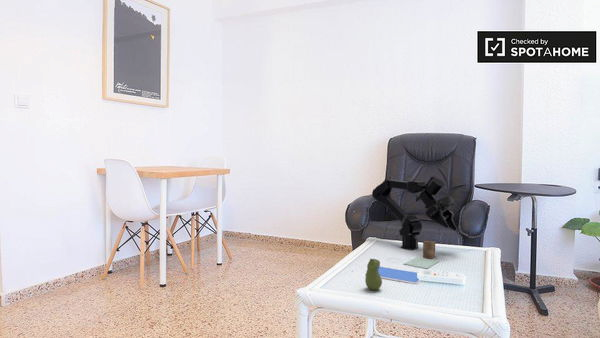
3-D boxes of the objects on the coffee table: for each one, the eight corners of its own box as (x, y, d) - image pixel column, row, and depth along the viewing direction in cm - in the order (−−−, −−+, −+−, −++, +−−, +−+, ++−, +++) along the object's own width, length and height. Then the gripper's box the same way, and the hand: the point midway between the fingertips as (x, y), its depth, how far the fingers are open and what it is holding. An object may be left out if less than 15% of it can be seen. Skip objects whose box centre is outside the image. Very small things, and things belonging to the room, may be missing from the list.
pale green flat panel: (403, 264, 161) (403, 263, 161) (416, 257, 172) (416, 257, 172) (427, 268, 155) (427, 268, 155) (439, 261, 166) (439, 260, 166)
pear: (368, 285, 134) (368, 256, 134) (383, 288, 132) (384, 258, 131) (363, 290, 129) (363, 260, 129) (379, 293, 127) (379, 262, 126)
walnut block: (422, 257, 172) (423, 241, 172) (426, 255, 175) (426, 240, 175) (431, 259, 170) (432, 243, 169) (435, 257, 173) (435, 241, 173)
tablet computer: (426, 277, 146) (426, 273, 146) (417, 286, 135) (417, 282, 135) (376, 269, 156) (376, 265, 156) (364, 277, 146) (364, 273, 145)
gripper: (434, 186, 171) (458, 213, 161) (451, 194, 184) (474, 219, 174) (415, 203, 174) (437, 230, 165) (433, 209, 188) (454, 235, 178)
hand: (451, 228), depth 170 cm, fingers open, 9 cm apart
